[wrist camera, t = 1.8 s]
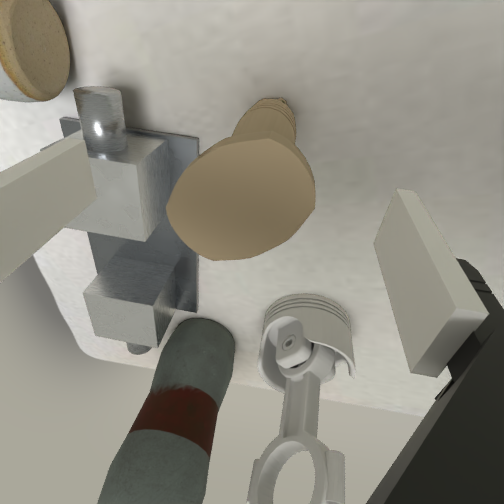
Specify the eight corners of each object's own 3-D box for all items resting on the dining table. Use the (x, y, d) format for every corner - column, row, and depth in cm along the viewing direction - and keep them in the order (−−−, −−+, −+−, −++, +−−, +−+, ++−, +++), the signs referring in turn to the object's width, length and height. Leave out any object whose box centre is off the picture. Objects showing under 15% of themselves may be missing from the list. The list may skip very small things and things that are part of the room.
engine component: (367, 331, 38) (313, 279, 34) (409, 574, 21) (313, 519, 18) (295, 362, 43) (242, 320, 40) (285, 574, 27) (193, 532, 23)
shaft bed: (198, 92, 25) (168, 112, 20) (198, 327, 42) (181, 372, 36) (52, 71, 26) (-15, 85, 20) (109, 310, 42) (80, 352, 37)
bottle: (165, 311, 41) (-44, 728, 17) (236, 317, 39) (118, 780, 16) (178, 357, 46) (34, 721, 22) (241, 363, 45) (159, 758, 21)
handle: (324, 121, 25) (336, 217, 13) (257, 164, 28) (215, 276, 16) (292, 61, 23) (269, 109, 11) (222, 114, 26) (144, 199, 14)
